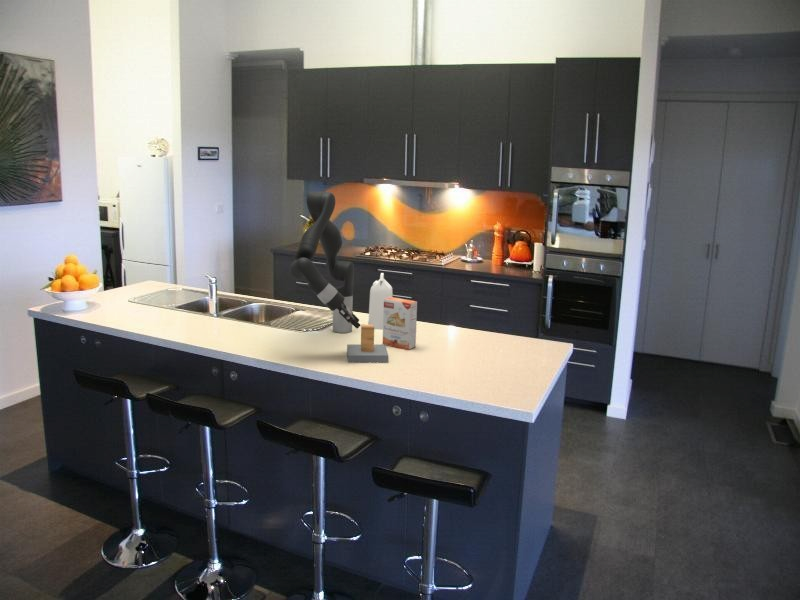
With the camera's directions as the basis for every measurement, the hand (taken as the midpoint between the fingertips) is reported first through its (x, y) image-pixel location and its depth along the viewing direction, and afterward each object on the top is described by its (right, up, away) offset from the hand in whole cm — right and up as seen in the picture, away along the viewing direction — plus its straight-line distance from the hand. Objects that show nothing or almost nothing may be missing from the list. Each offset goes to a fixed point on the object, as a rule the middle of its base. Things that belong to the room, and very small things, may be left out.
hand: (358, 324), depth 275 cm
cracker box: (+17, -10, +21) cm, 28 cm away
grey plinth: (+3, -13, +3) cm, 14 cm away
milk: (+8, -3, +54) cm, 55 cm away
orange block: (+4, -11, +3) cm, 11 cm away
